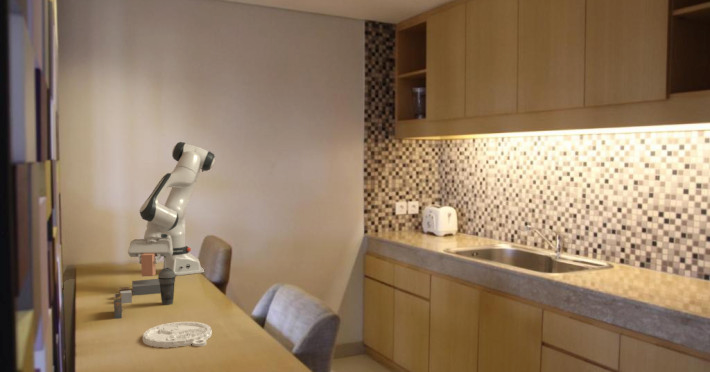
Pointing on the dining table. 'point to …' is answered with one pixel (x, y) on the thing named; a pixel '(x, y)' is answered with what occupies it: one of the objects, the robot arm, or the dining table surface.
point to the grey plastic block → (126, 296)
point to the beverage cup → (167, 285)
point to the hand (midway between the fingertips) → (148, 263)
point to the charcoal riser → (146, 287)
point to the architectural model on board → (118, 306)
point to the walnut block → (124, 289)
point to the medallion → (177, 334)
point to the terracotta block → (148, 264)
